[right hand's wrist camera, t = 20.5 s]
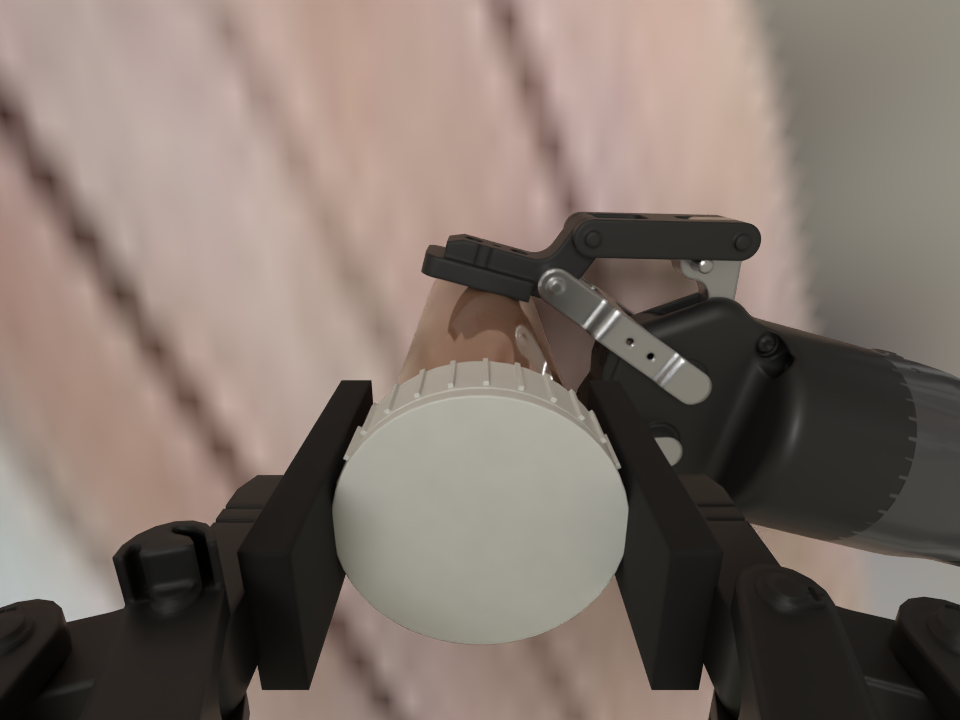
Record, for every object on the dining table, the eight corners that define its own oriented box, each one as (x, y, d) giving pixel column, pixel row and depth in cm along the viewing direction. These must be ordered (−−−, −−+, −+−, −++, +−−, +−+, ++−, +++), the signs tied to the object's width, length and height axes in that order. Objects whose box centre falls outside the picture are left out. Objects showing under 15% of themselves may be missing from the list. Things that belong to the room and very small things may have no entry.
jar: (410, 282, 26) (317, 451, 11) (506, 237, 25) (543, 354, 10) (456, 371, 27) (428, 623, 13) (548, 331, 26) (631, 548, 12)
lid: (440, 302, 11) (434, 328, 9) (667, 449, 12) (698, 497, 10) (300, 510, 12) (273, 565, 11) (511, 623, 14) (516, 688, 12)
